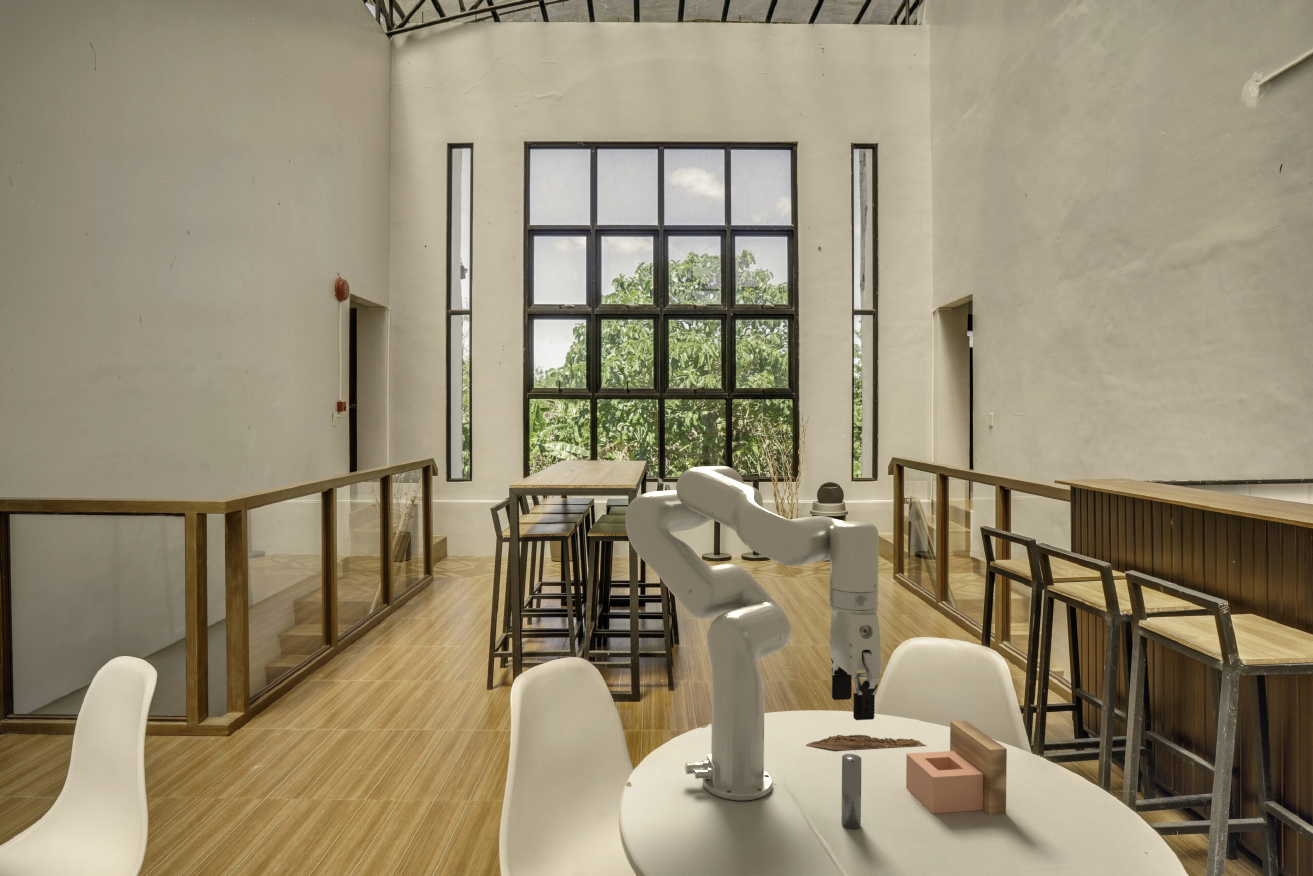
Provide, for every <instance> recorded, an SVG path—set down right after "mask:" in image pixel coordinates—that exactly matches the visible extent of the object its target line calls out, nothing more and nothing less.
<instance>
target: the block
mask: <svg viewBox="0 0 1313 876" xmlns="http://www.w3.org/2000/svg"><path fill="white" fill-rule="evenodd" d="M905 774H906V775H905V779H906V780H905V786H906V787H905V788H906V789H907V790H908V791H909V792H910V794H912V795H913V796H914V797H915V798H916V799H918V801H919V802H921V804H923V806H924V807H925V808H927V810H928V811H929V812H931V814H944V813H945V814H946V813H960V812H972V811H973V812H974V811H984V810H983V773H981V772H980V771H979V770H977V769H976V768H975V767H974V766H972V765H971V764H970V763H968V762H967V761H966V760H965V759H963V758H962V757H961V756H960V755H958V754H957V753H956V752H954V751H950V750H949V751H948V750H947V751H932V752H931V751H929V752H913V753H912V752H911V753H906V772H905Z"/></svg>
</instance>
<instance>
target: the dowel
mask: <svg viewBox="0 0 1313 876" xmlns="http://www.w3.org/2000/svg"><path fill="white" fill-rule="evenodd" d="M841 758H842V759H841V822H840V823H841V826H842V827H843V828H845V829H847V830H850V831H857V830H859V829H861V827H862V757H861V756H859V755H858V754H854V753H845V754H843V755H842V756H841Z"/></svg>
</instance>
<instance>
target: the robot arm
mask: <svg viewBox="0 0 1313 876" xmlns="http://www.w3.org/2000/svg"><path fill="white" fill-rule="evenodd" d="M675 485H676V486H675V489H671V490H669V489H668V490H657V491H650V492H645V493H642V494H640V495H638V496H636V497H635V498H633V499H632V500H631V501H630V503H629V504H628V506H627V508H626V512H625V519H624V520H625V522H624V523H625V530H626V536H627V538H628V541H629V542H630V544H631V547H632V548H633V550H634V551H635V553H636V554H637V555H638V556H639V557H640V559H641V560H642V561H643V562H645V564H646V565H647V566H649V568H650V569H652V570H653V572H654V573H656V575H657V576H658V578H659V579H660V580H661V581H662V582H663V584H664V585H665V586H666V587H667V588H668V590H669V591H670V592H671V594H672V595H673V596H674V597H675V598H676V600H677V601H678V602H679V603H680V604H681V605H682V607H683V608H684V609H685V611H687V612H688V614H689V615H690V616H691V617H693V618H695V619H698V620H707V619H713V618H714V619H713V620H712V622H711V623H710V625H709V627H708V630H707V634H706V643H707V651H708V657H709V661H710V671H711V751H710V753H707V755H706V759H703V760H701V761H699V762H696V761H694V762H693V761H690V762H685V764H684V765H685V766H684V769H685V773H686V775H692V774H694V778H695V779H697V780H698V779H702V785H703V787H704V788H705V789H706V790H707V792H709V793H711V794H712V795H714V796H716V797H719V798H722V799H726V800H729V801H752V800H757V799H760V798H763V797H764V796H767V795H768V794H769V793H770V792H771V791H772V789H773V778H772V776H771V775H770V774H769V772H767V771H766V770H765V701H766V700H765V699H766V698H765V684H764V680H763V675H762V674H761V671H760V669H759V665H758V660H760V659H762V658H765V657H767V656H770V655H772V654H776V653H777V652H779V651H781V650H783V649H784V648H785V647H786V646H788V643H789V642H790V639H791V634H792V629H791V628H792V627H791V623H790V620H789V618H788V616H787V614H786V612H785V611H784V610H783V608H782V607H781V606H780V605H779V604H778V602H777V601H776V600H775V599H774V598H773V597H772V596H771V594H769V593H768V592H767V590H766V589H765V588H764V587H763V586H762V585H761V584H760V583H759V582H758V580H756V578H755V577H754V576H753V575H752V574H751V573H750V572H749V571H747V570H746V569H744V568H743V567H741V566H739V565H736V564H733V563H722V564H717V565H711V564H707V563H706V562H705V561H704V560H703V559H702V558H701V557H700V556H699V555H698V554H697V553H696V551H695V550H694V549H693V548H692V547H691V546H689V545H688V544H687V543H686V542H684V541H683V540H681V539H680V538H678V537H676V536H674V535H673V534H672V533H674V532H675V533H676V532H683V531H688V530H689V531H690V530H693V529H696V528H699V527H701V526H703V525H705V524H706V523H709V522H711V521H715V522H717V523H719V524H721V525H723V526H725V527H727V528H729V529H731V530H733V531H734V532H735V534H736V535H737V537H738V539H740V540H741V543H743V544H744V545H745V546H746V547H747V548H749V549H750V550H751V551H753V552H755V553H757V554H759V555H760V556H763V557H765V558H766V559H770V560H771V561H773V562H775V563H778V564H781V565H783V566H784V565H785V566H789V567H799V566H804V565H808V564H812V563H813V564H814V563H818V562H825V561H829V597H828V598H829V603H828V604H829V609H831V618H830V629H829V654H830V655H829V656H830V661H831V664H832V665H831V674H832V675H831V698H832V700H834V701H841V700H842V701H844V700H851V699H852V683H853V682H854V683H853V684H854V689H855V692H854V693H853V704H852V705H853V711H852V712H853V714H852V715H853V716H852V717H853V719H854V720H856V721H869V720H874V719H875V705H876V704H875V695H877V688H878V682H879V681H880V677H881V674H882V646H881V645H882V644H881V642H882V641H881V631H880V623H879V618H878V617H879V616H878V613H877V612H878V611H879V550H880V549H879V546H880V545H879V540H880V538H879V537H880V536H879V530H878V528H877V526H876V525H874V524H872V523H870V522H866V521H856V520H846V521H845V520H842V519H837V518H834V517H831V516H824V515H823V516H822V515H813V516H806V517H805V516H804V517H798V518H792V519H789V518H786V517H784V516H781V515H779V514H776V513H774V512H772V511H769V510H767V509H766V508H763V505H764V502H763V496H762V493H761V491H759V490H758V488H756V487H754V486H751V485H749V484H747V483H745V482H744V479H743V477H742V475H741V474H740V473H739V472H738V471H737V470H735V469H734V468H732V467H730V466H727V465H726V466H724V465H712V466H710V465H709V466H705V465H704V466H695V467H691V468H688V469H687V470H685V471H684V472H682V473H681V475H680V476H679V477H678V479H677V481H676V484H675ZM858 671H860V672H858ZM862 671H865V672H862ZM852 678H853V679H852ZM861 679H866V680H864V681H863V682H861ZM861 683H862V684H861Z"/></svg>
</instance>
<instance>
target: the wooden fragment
mask: <svg viewBox="0 0 1313 876" xmlns="http://www.w3.org/2000/svg"><path fill="white" fill-rule="evenodd" d="M805 746H806V747H811V748H812V747H813V748H820V749H828V750H832V751H833V750H834V751H840V752H845V751H846V752H847V751H849V752H850V751H863V750H864V751H866V750H881V749H883V750H884V749H886V750H887V749H897V748H898V749H900V748H902V749H904V748H915V747H916V748H917V747H920V748H921V747H927V744H924V743H923V742H921V741H920V740H916V739H913V738H910V739H909V738H897V739H895V738H891V737H889V738H887V737H884V739H883V738H878V737H876V736H875V737H871V736H870V735H866V734H852V735H851V734H850V735H842V734H837V735H833V736H830V735H829V736H828V738H827V737H826V738H823V739H820V740H818V741H817V740H815V741H812V742H809V743H807V744H806V745H805Z"/></svg>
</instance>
